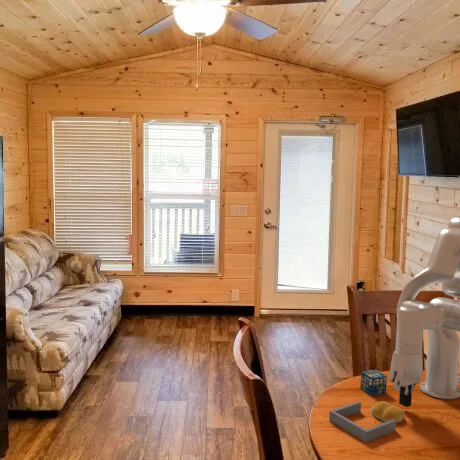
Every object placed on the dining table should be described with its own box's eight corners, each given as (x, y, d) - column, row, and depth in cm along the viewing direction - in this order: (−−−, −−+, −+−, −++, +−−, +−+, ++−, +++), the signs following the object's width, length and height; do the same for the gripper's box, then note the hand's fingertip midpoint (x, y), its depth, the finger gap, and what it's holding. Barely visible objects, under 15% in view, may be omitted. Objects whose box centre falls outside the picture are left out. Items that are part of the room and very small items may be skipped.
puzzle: (386, 393, 168) (387, 375, 167) (371, 396, 166) (372, 378, 165) (374, 386, 173) (375, 369, 173) (360, 388, 171) (360, 371, 170)
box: (358, 410, 155) (358, 401, 155) (395, 430, 143) (396, 420, 143) (329, 420, 149) (329, 410, 148) (365, 442, 137) (366, 432, 137)
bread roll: (394, 427, 146) (394, 413, 146) (367, 415, 153) (367, 402, 152) (409, 418, 151) (410, 405, 151) (382, 407, 158) (383, 395, 158)
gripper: (414, 339, 161) (410, 395, 163) (382, 347, 153) (378, 405, 155) (435, 346, 155) (430, 404, 157) (402, 355, 147) (398, 415, 149)
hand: (404, 404), depth 156 cm, fingers closed
